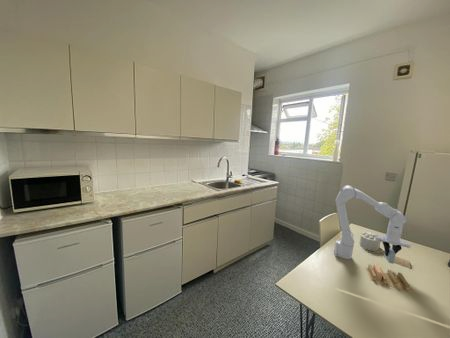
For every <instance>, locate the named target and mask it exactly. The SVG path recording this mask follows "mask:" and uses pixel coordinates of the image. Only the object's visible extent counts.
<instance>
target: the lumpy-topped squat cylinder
mask: <svg viewBox="0 0 450 338" xmlns="http://www.w3.org/2000/svg"><path fill="white" fill-rule="evenodd" d="M375 236H377V237H380V235H378V234H376V233H372V232H370V231H362V233H360V238H359V246H360V247H361V248H362V249H365V250H368V251H372V252H373V251H375V252H377V251H378V250H380V247H381V243H382V242H381V241H376V240H375Z"/></svg>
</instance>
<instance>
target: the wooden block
mask: <svg viewBox="0 0 450 338" xmlns="http://www.w3.org/2000/svg"><path fill="white" fill-rule="evenodd" d="M372 267H373V270H374V272H375V274H376V276H377V277H376V280H379V281H381V279H382V274H383V273H382V271H381V269H382V268H381V269H380V266H379V264H376V263H373V265H372Z"/></svg>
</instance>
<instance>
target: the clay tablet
mask: <svg viewBox="0 0 450 338" xmlns="http://www.w3.org/2000/svg"><path fill="white" fill-rule="evenodd" d="M410 262H411V261H410V260H407V259H405V258H401V257H398V256H396V255H395V259H394V264H395V265H398V266H401V267H405V268H407V269H409V270H410V269H411V264H410Z"/></svg>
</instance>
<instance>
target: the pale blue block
mask: <svg viewBox="0 0 450 338" xmlns="http://www.w3.org/2000/svg"><path fill="white" fill-rule="evenodd" d="M395 254H397V253H395V252H394V251H393V249H392V247H391V246H390V249H389V252H388V256H386V255H385V251H384V253H383V256H384V258H385V259H386V261H387V262H388V264H389V263H390V264H392V265H393V264H395V263H394V259H395V256H396V255H395Z"/></svg>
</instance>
